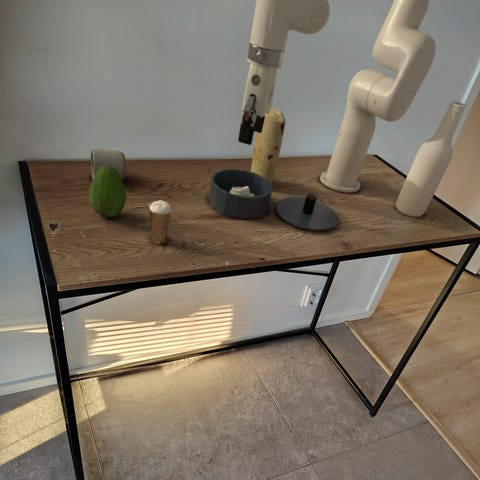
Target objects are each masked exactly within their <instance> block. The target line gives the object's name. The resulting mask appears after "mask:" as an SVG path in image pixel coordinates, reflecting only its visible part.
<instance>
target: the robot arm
mask: <svg viewBox="0 0 480 480" xmlns="http://www.w3.org/2000/svg"><path fill="white" fill-rule="evenodd" d="M429 4H430V0H393V2H392V4H391V7H390V9H389V11H388V14H387V15H386V18H385V20H384V22H383V25H382V27H381V28H380V30H379V34H378V35H377V37H376V40H375V42H374V45H373V47H372V55H371V56H372V59H373V61H374V62H375V63H376V64H378V66H381V67H383V68H385V69H388V70H390V71H393V72H395V73H397V76H396V78H395V77H393V76H390V75H388V74H386V73H384V72H381V71H379V70H376V69H371V68H364V69H361V70H359V71H358V72H357V73H356V74H355V75H354V76H353V77H352V79H351V80H350V82H349V85H348V89H347V98H346V105H345V111H344V114H343V118H342V122H341V125H340V128H339V131H338V133H337V134H338V135H337V138H336V142H335V144H334V147H333V150H332V155H331V158H330V161H329V165H328V167H327V171H324V172H322V173H321V174H320V177H319V181H320V182H321V183H322V184H323V185H324V186H326V187H327V188H329V189H331V190H334V191H336V192H340V193H356V192H358V191H359V190H360V188H361V183H360V181H359V180H358V179H359V176H360V173H361V170H362V167H363V164H364V162H365V159H366V156H367V153H368V151H369V148H370V145H371V142H372V139H373V137H374V134H375V130H376V125H377V123H376V121H377V120H376V117H377V118H380V119H381V120H383V121H387V122H390V123H391V122H392V123H394V122H397V121H398V120H400V119H402V118H403V117H404V115H405V114H406V113H407V111H408V110H409V108H410V107H411V105H412V103H413V101H414V99H415V97H416V95H417V94H418V92H419V90H420V87H421V86H422V84H423V82H424V80H425V78H426V77H427V75H428V73H429V71H430V70H431V67H432V65H433V62H434V60H435V55H436V51H437V50H436V48H437V47H436V46H437V45H436V41H435V39H434V38H433V37H432V36H431V35H430V34H428V33H426V32H423V31H420V30H419V29H420V27H421V25H422V23H423V20H424V18H425V15H426V14H427V11H428V9H429ZM330 15H331V7H330V3H329V0H256V1H255V8H254V12H253V19H252V25H251V32H250V38H249V39H250V40H249V45H248V51H247V56H246V61H247V62H248V63H249V65H250V66H249V69H248V73H247V79H246V83H245V87H244V88H245V89H244V95H243V98H242V99H243V100H242V108H241V109H242V112H243V115H242V117H241V121H240V126H239V133H238V138H237V141H238V143H241V144H244V145H248V146H251V145H252V143H253V140H254V133H257V132H258V133H261V132H262V129H263V125H264V120H265V116H264V115H265V114H266V113H267V112H268V111H269V110H270V109H271V108H272V104H273V99H274V93H275V88H276V82H277V75H278V70H279V69H281V68H282V64H283V60H284V55H285V49H286V46H287V39H288V35H289V31H294V32H298V33H301V34H304V35H314V34H317V33H319V32H320V31H322V30H323V29H324V28H325V26H326V25H327V23H328V21H329V18H330Z"/></svg>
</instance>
